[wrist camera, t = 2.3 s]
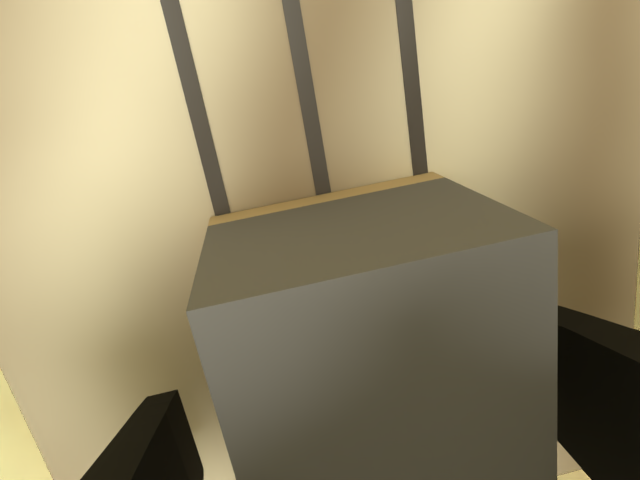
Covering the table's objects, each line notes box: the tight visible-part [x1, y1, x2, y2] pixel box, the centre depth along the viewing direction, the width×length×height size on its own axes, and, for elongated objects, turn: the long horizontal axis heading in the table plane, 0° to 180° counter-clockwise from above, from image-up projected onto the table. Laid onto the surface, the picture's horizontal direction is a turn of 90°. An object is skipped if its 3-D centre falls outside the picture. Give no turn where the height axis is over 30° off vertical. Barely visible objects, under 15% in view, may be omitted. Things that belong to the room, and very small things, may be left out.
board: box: [0, 0, 640, 480], centre depth 10 cm, size 14×18×1 cm
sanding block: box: [186, 172, 558, 480], centre depth 9 cm, size 4×8×4 cm, turn 10°
